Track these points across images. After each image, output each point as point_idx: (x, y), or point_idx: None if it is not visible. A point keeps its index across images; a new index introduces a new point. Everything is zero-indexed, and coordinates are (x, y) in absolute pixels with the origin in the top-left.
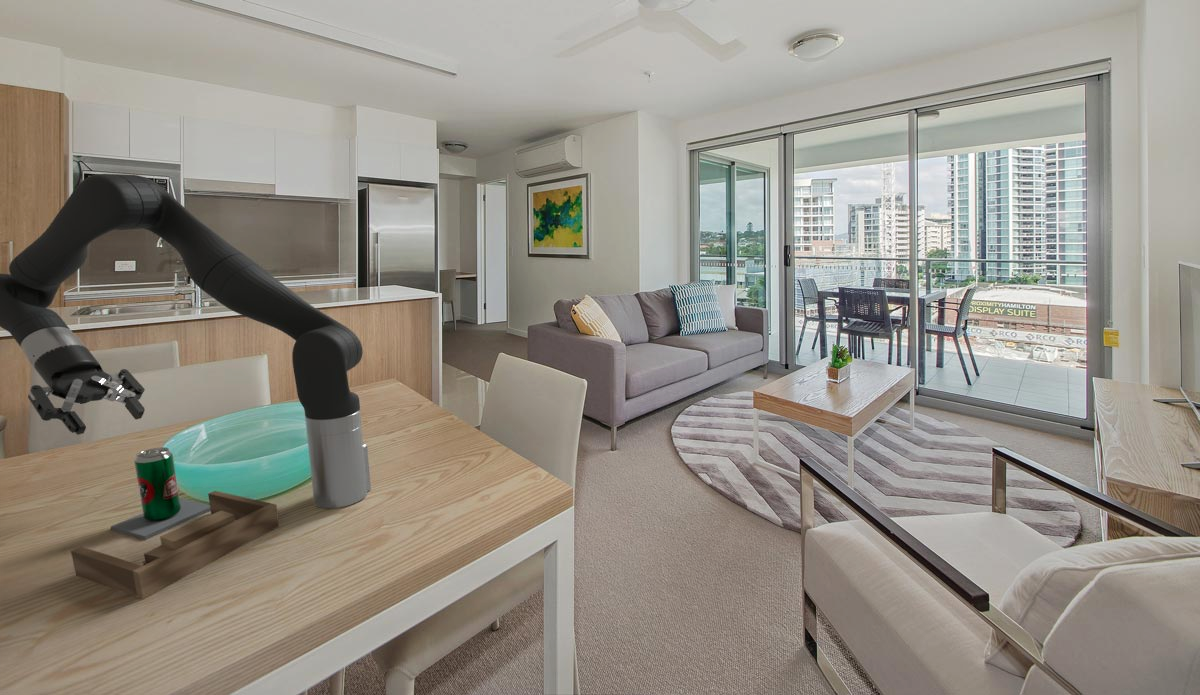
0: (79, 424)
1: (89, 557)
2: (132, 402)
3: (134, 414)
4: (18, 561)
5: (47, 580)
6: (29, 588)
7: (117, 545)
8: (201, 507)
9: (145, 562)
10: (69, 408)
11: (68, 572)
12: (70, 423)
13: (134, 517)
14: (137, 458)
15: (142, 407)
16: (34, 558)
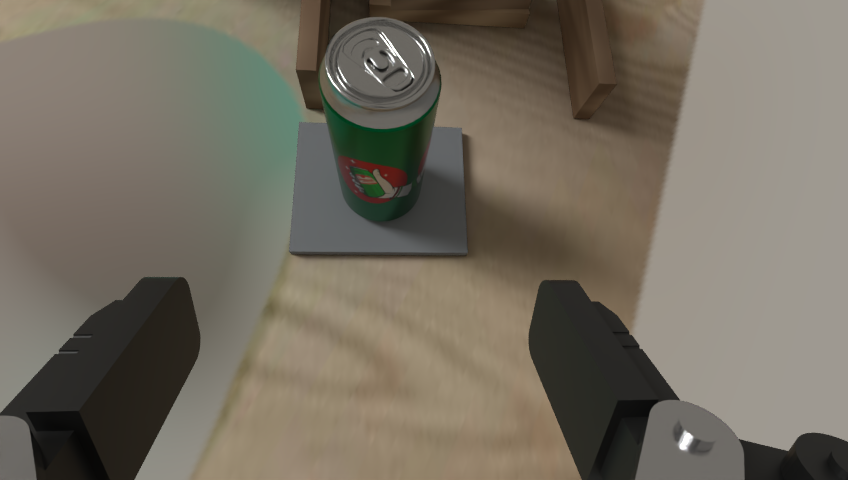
0: (582, 290)
1: (606, 30)
2: (106, 361)
3: (180, 352)
4: (627, 291)
5: (620, 150)
6: (645, 151)
7: (498, 163)
8: (315, 141)
9: (528, 9)
10: (664, 432)
11: (591, 144)
12: (627, 332)
13: (414, 248)
14: (432, 81)
15: (95, 321)
16: (605, 272)
